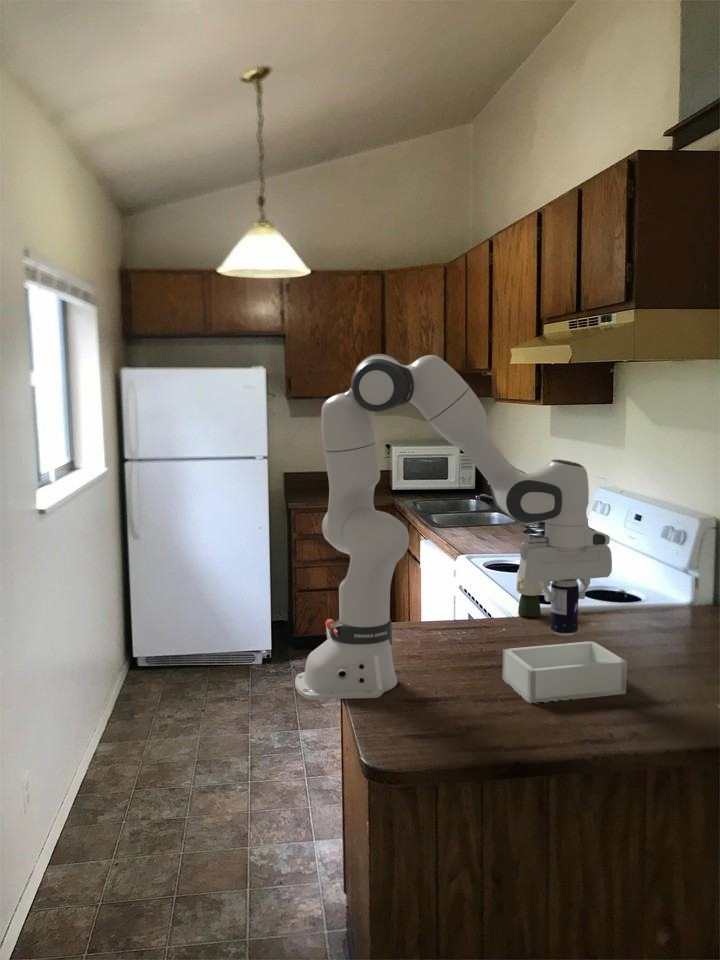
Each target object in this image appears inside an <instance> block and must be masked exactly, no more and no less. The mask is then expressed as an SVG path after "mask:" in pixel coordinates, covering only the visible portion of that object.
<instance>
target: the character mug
mask: <svg viewBox="0 0 720 960" xmlns="http://www.w3.org/2000/svg"><path fill="white" fill-rule="evenodd" d="M516 592H517V593H519V594H521V595H520V598H519V603H518V610H517V614H518V615H519V616H524V617H525V618H527V617H533V618H534V617H540V616H541V615H542V613H541V604H540V603H541V602H540V597H539V596H540V595H542V594H543V592H544V591H543V589H542V587H541V585H540V582H535V583H527V582H525V581H523V580H522V579H521V578H520V576H519V569H517V574H516Z"/></svg>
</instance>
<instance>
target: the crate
mask: <svg viewBox="0 0 720 960" xmlns="http://www.w3.org/2000/svg"><path fill="white" fill-rule="evenodd" d="M627 673H628V661H626V659H624V658H621V657H620V656H618V655H617V654H615V653H614V652H611V651H610V650H609V649H607V648H605V647H604V646H602V645H601V644H599V643H597V642H595V641H592V640H591V641H582V642H581V641H579V642H568V643H558V644H557V643H556V644H546V645H545V644H544V645H536V646H534V645H533V646H525V647H524V646H522V647H513V648H511V647H510V648H503V649H502V673H501V674H502V679H503V680H504V681H503V680H502V679H501V680H502V681H503V682H504V683H505V684H507V685H508V684H509V685H510V686H511V687H512V688H513V689H512V688H511V687H510V686H509V685H508V686H509V687H510V688H511V689H512V690H513V691H515V693H517V694H518V695H519V696H520V695H521V696H522V697H521V696H520V697H521V698H522V699H523V700H525V701H526V702H527V703H528V702H529V703H530V704H529V703H528V704H529V705H532V704H531V703H535V704H538V703H537V702H544V703H550V702H549V701H554V702H559V701H558V700H563V701H570V700H569V699H572V700H580V699H589V698H590V699H591V698H598V697H607V696H617V695H619V696H620V695H626V694H627V678H628V677H627V675H628V674H627Z"/></svg>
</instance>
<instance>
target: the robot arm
mask: <svg viewBox="0 0 720 960" xmlns="http://www.w3.org/2000/svg"><path fill="white" fill-rule="evenodd" d="M407 403H410V404H411V405H413V406H414V407H416V409H418V411H419V412H420V414H422V416H423V417H424V418H425V420H426V421H427V422H428V423H429V424H430V425H431V427H432V428H433V429H434V430H435V431H436V432H437V433H438V434H439V435H440V436H441V437H442V438H443V439H445V440H446V441H447V442H449V443H450V444H451V445H453V446H454V447H455V448H457V449H459V451H460V450H461V451H462V452H463V453H464V454H465V455H466V456H467V458H468V459H470V461H471V462H472V464H473V465H474V466H475V468H477V470H478V471H479V472H480V474H481V475H482V476H483V478H484V479H485V480H486V482H487V484H488V485H489V488H490V493H491V496H492V500H493V503H494V505H495V506H496V508H497V509H498V510H499V511H500V512H502V514H505V515H507V516H509V517H510V518H512V519H513V520H514V521H517V522H520V523H523V524H525V523H526V524H532V523H536V522H538V523H539V522H542V521H544V537H537V538H533V537H532V538H531V537H530V538H527V539H526V540H525V541H523V542H522V543H521V544H520V546H519V547H520V548H519V549H520V550H519V551H520V560H519V566H518V567H519V568H518V570H519V576H520V578H521V579H522V580H523V581H525V582H527V583H535V582H540V585H541V587H542V589H543V591H542V592H544V601H545V602H549V603H551V601H554V600H555V598H554V597H555V594H554V593H552V592H551V589H550V588H549V587H551V582H552V581H562V580H576V579H577V580H579V582H580V584H579V595H578V600H585V599H586V591H587V590H588V587H589V586H590V585H591V579H600V578H608V577H610V575H611V574H612V571H613V557H612V555H613V554H612V550H611V548H610V547H609V546H608V545H609V544H610V539H611V537H610V535H608V534H606V533H604V532H601V531H598V530H595V529H593V528H590V527H589V519H588V515H587V509H588V507H589V501H590V499H589V495H590V494H589V493H590V490H589V478H588V472H587V469H586V468H585V466H583V465H582V464H580V463H578V462H574V461H570V460H564V459H558V458H557V459H552V460H550V461H549V462H548V463H547V464H545V465H544V466H542V467H540V468H539V469H537V470H535V471H533V472H530V473H526V472H525V471H522V470H520V469H518V468H516V467H514V465H512V464H511V463H510V462H509V460H508V459H507V458H506V457H505V455H504V454H503V452H502V451H501V450H500V448H499V447H498V446H497V445H496V444H495V442H494V441H493V440H492V438H491V436H490V434H489V431H488V427H487V419H488V418H487V412H486V410H485V408H484V406H483V404H482V403H481V401H480V399H479V398H478V396H477V394H476V393H475V392H474V391H473V389H472V388H471V387H470V385H469V384H468V383H467V382H466V380H464V379H463V377H462V376H461V375H460V374H459V373H458V372H457V371H456V370H455V369H454V368H453V367H451V366H450V365H449V364H448V363H447V362H446V361H445V360H443V359H442V358H441V357H440V356H438V355H436V354H435V355H434V354H428V355H424V356H422V357H419V358H417V359H416V360H414V361H413V362H412V363H409V364H408V365H405V364H402V363H401V362H400V361H399V360H398V359H397V358H396V357H394V356H393V355H390V354H387V353H375V354H371V355H369V356H367V357H366V358H364V359H362V361H360V362H359V364H358V365H356V368H355V370H354V371H353V374H352V376H351V380H350V388H349V390H347V391H345V392H342V393H337V394H335V395H332V396H331V397H329V398H328V399H326V400H325V401H324V403H323V404H322V406H321V413H320V415H321V417H320V418H321V419H320V420H321V421H320V422H321V423H320V424H321V425H320V426H321V428H320V429H321V439H322V446H323V453H324V460H325V465H326V471H327V477H328V487H329V491H328V507H327V512H326V513H325V515H324V517H323V519H322V522H321V530H322V531H321V532H322V534H323V537H324V539H325V540H326V541H327V542H328V544H330V545H331V546H332V547H333V548H334V549H336V550H337V551H339V552H341V553H343V554H347V555H349V558H350V559H349V566H348V569H347V573H346V576H345V578H344V579H343V580H342V581H341V582H340V584H339V587H338V602H339V603H338V606H339V607H338V608H339V610H338V611H339V612H338V613H339V618H338V619H337V620H336V621H334V620H333V619H332V618H328V619H326V621H325V627H326V628H327V630H329V631H330V633H329V634H330V637H329V638H328V639H326V640H325V641H324V642H322V644H320V645H319V646H318V647H316V648H315V649H314V650H312V651H311V652H310V653H309V654H308V656H307V658H306V661H305V667H304V671H303V672H299V673H298V674H297V675H296V676H295V679H294V687H295V690H296V692H298V694H299V695H301V696H302V697H303V698H305V699H308V700H337V699H338V700H339V699H340V700H342V699H343V700H344V699H345V700H346V699H347V700H348V699H351V700H352V699H378V698H380V697H382V696H383V694H384V693H385V692H387V691H389V690H392V689H394V688H395V687H396V686H397V684H398V678H397V676H396V672H395V667H394V661H393V654H392V646H391V645H392V643H393V624H392V619H391V618H390V614H391V613H390V612H391V611H390V609H391V608H390V606H391V604H390V603H391V585H392V579H393V574H394V572H395V569H396V566H397V564H398V562H399V561H400V560H402V558H403V557H404V556H405V554H406V553H407V551H408V549H409V545H410V534H409V530H408V528H407V527H406V525H405V524H404V523H403V522H402V521H400V520H399V519H398V518H397V517H395V516H394V515H392V514H390V513H388V512H386V511H381V510H376V508H375V506H374V505H375V504H374V497H375V495H374V494H375V489H376V485H377V484H378V483H379V482H380V479H381V471H380V470H381V469H380V468H381V467H380V461H379V458H378V457H379V456H378V451H377V444H376V443H377V442H376V436H375V432H374V425H373V424H374V423H373V422H374V416H375V414H376V413H383V412H384V413H385V412H387V411H391V410H392V409H393V410H394V409H395V408H397V407H399V406H402V405H405V404H407Z"/></svg>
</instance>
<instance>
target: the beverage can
mask: <svg viewBox="0 0 720 960" xmlns="http://www.w3.org/2000/svg"><path fill="white" fill-rule="evenodd" d="M579 586H580V584H579V583H578V579H576V580H562V581H551V582H550V592H552V593H554V594H555V597H554V598H555V600H554V601H550V630H551V631H552V632H553V633H554V634H555V635H556V636H561V637H569V636H574V635H575V634H576V633H577V632H578V630H579V599H578V595H579Z"/></svg>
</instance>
